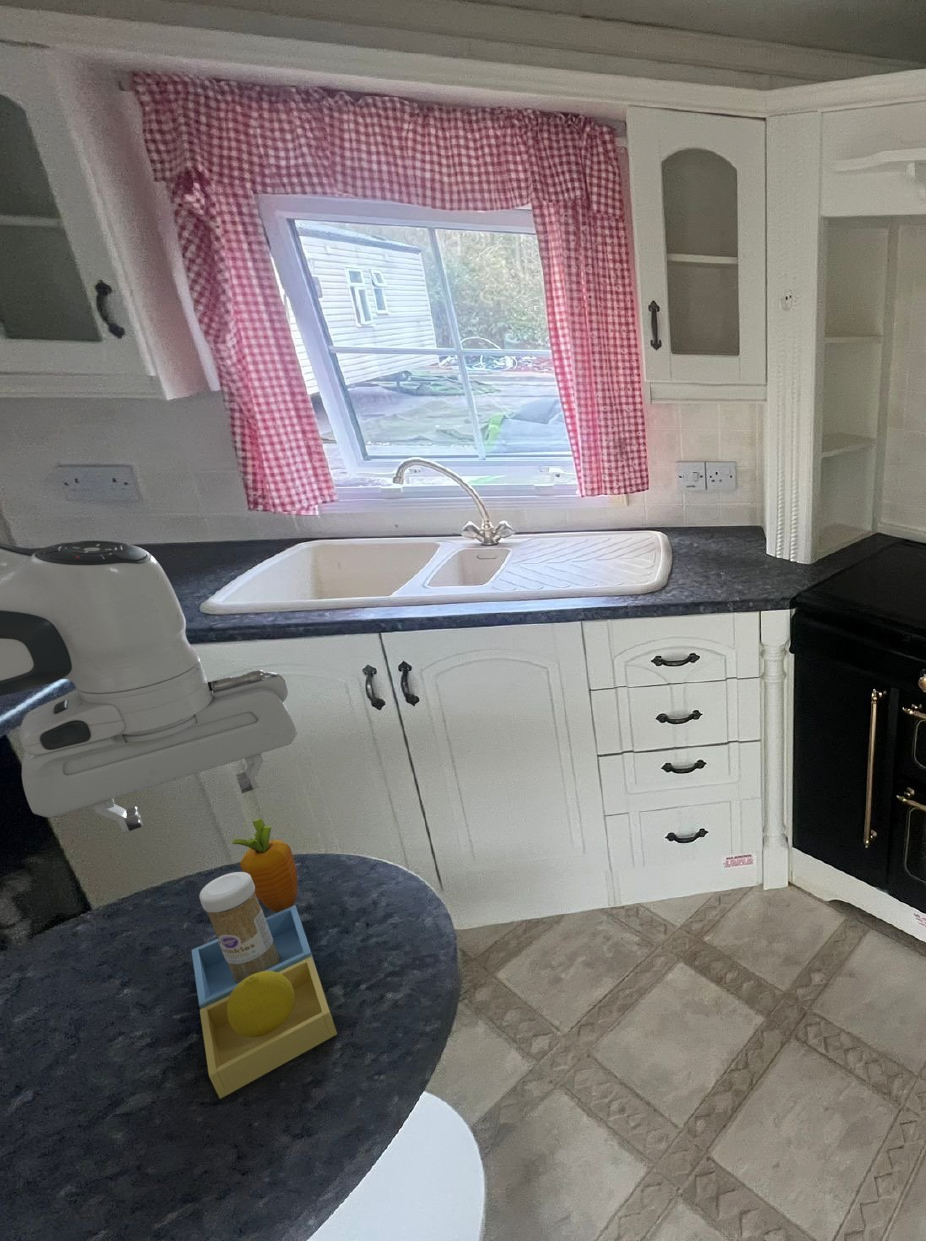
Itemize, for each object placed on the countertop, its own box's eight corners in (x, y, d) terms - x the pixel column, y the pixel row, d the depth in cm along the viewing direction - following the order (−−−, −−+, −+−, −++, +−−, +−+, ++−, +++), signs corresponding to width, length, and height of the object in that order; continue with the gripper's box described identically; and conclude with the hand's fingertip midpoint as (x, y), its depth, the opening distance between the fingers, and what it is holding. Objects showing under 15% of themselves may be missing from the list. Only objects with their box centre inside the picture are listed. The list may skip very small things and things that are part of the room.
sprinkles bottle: (227, 990, 81) (190, 904, 76) (241, 959, 85) (207, 875, 80) (275, 978, 83) (242, 893, 78) (287, 948, 87) (256, 865, 82)
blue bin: (209, 1027, 78) (198, 1005, 77) (200, 971, 84) (191, 949, 83) (317, 973, 85) (310, 952, 83) (302, 925, 91) (295, 904, 90)
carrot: (290, 931, 90) (257, 840, 84) (253, 929, 90) (217, 838, 84) (319, 901, 95) (289, 813, 89) (283, 899, 95) (251, 811, 89)
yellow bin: (219, 1099, 71) (208, 1076, 70) (209, 1031, 77) (199, 1009, 76) (337, 1034, 78) (329, 1012, 76) (319, 977, 84) (311, 955, 83)
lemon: (233, 1061, 74) (209, 1009, 71) (247, 1018, 78) (225, 967, 75) (297, 1040, 76) (277, 988, 73) (307, 998, 81) (289, 948, 78)
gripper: (275, 655, 79) (306, 756, 84) (0, 720, 65) (58, 836, 70) (284, 675, 75) (317, 780, 80) (-6, 748, 61) (55, 869, 66)
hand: (194, 807), depth 75 cm, fingers open, 8 cm apart
